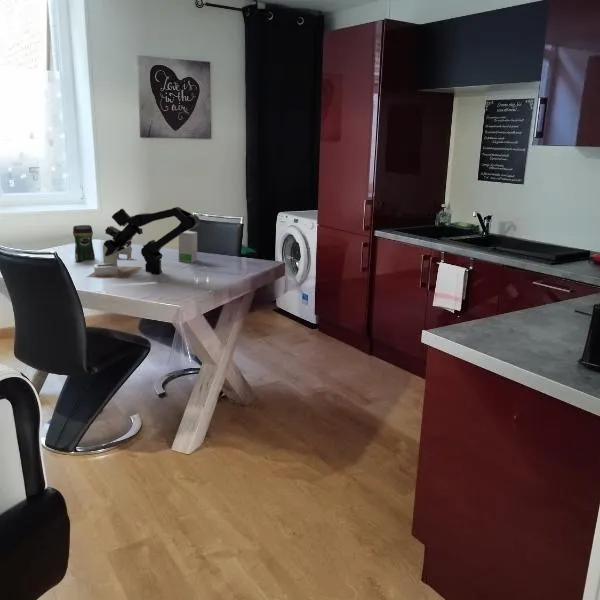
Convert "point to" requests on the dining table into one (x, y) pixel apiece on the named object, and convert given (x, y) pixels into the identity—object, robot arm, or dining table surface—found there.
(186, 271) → the dining table surface
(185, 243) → the skincare box
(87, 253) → the coffee jar
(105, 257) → the keyed peg
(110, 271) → the keyed slot
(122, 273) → the walnut board
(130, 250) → the dog figurine
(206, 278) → the dining table surface
